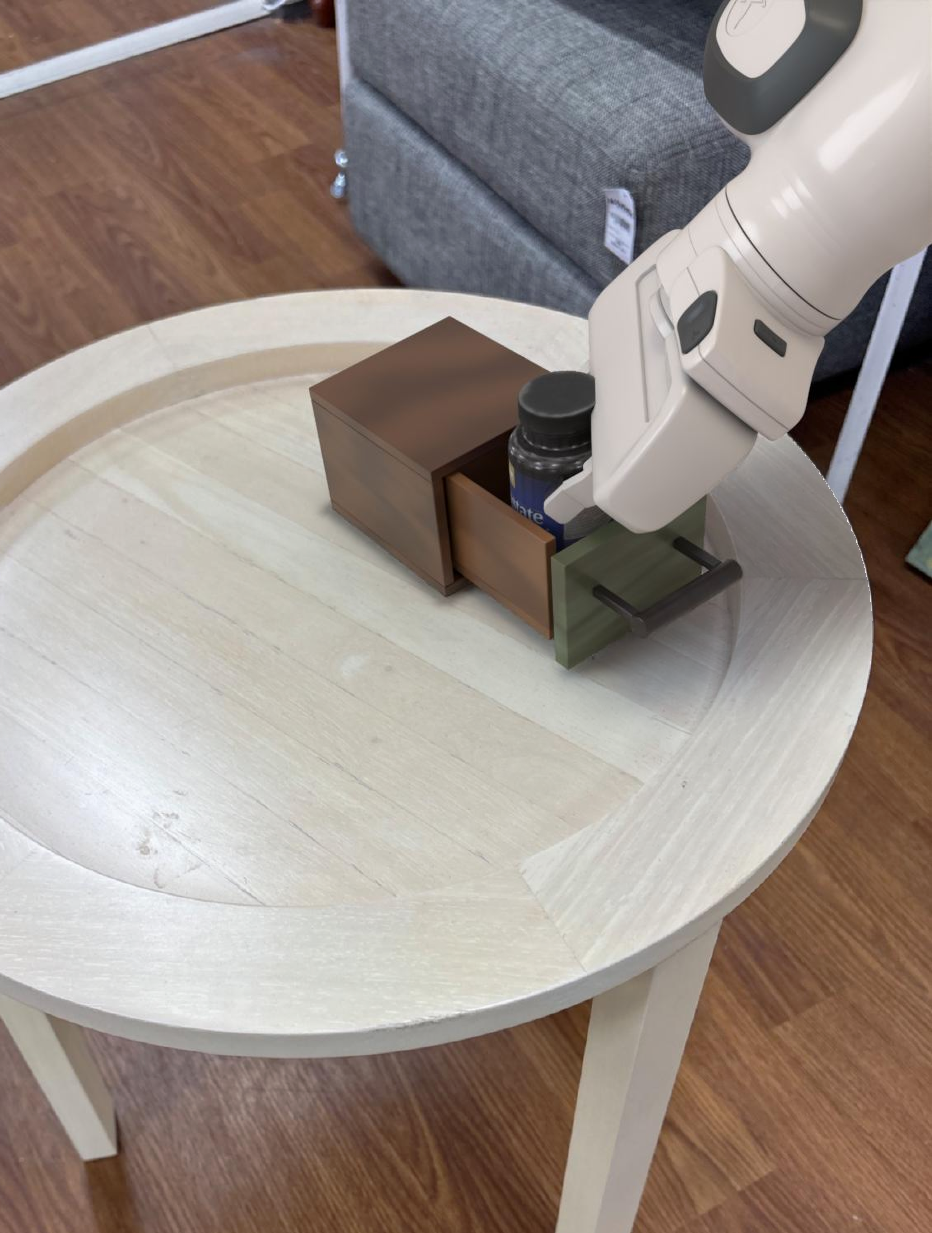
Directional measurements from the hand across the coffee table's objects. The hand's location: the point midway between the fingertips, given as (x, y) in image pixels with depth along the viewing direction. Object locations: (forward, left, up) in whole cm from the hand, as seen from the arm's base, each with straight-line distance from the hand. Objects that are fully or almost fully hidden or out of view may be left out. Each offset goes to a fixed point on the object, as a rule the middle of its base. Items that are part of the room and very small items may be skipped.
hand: (552, 471), depth 76 cm
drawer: (-1, +3, -8) cm, 9 cm away
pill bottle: (0, 0, -6) cm, 6 cm away
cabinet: (-1, -12, -9) cm, 15 cm away
